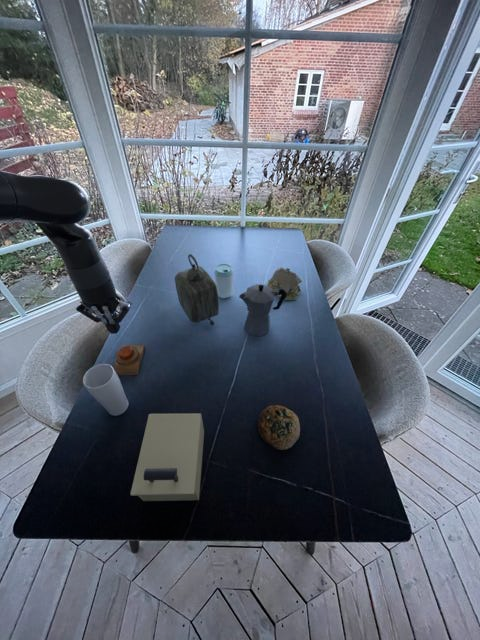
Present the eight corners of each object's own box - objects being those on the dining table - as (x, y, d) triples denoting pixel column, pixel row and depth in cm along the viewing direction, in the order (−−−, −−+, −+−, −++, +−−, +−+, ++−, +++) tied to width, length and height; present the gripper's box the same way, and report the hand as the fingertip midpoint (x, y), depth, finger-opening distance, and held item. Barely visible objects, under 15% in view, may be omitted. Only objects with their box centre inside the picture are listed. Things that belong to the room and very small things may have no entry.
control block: (137, 375, 77) (134, 368, 75) (113, 375, 77) (109, 368, 74) (145, 348, 84) (142, 341, 82) (123, 348, 84) (120, 341, 82)
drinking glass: (99, 416, 68) (75, 386, 57) (113, 393, 73) (92, 361, 62) (124, 421, 67) (104, 391, 57) (136, 397, 72) (119, 365, 61)
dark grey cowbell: (219, 326, 92) (216, 264, 74) (195, 335, 88) (186, 273, 71) (202, 302, 100) (195, 241, 83) (179, 310, 97) (167, 249, 79)
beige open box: (198, 500, 56) (194, 489, 50) (143, 501, 56) (132, 490, 49) (204, 430, 66) (201, 415, 60) (157, 431, 66) (149, 415, 60)
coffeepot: (241, 339, 88) (242, 298, 75) (235, 319, 94) (236, 278, 81) (285, 333, 90) (294, 292, 77) (277, 314, 96) (284, 273, 84)
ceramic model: (306, 290, 107) (311, 269, 100) (291, 304, 101) (296, 283, 94) (276, 276, 113) (279, 256, 106) (261, 289, 107) (263, 268, 100)
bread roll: (249, 416, 69) (253, 407, 65) (284, 403, 73) (290, 394, 70) (269, 459, 62) (274, 451, 59) (307, 442, 66) (314, 434, 63)
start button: (131, 359, 77) (130, 356, 76) (119, 359, 77) (117, 356, 76) (134, 350, 80) (133, 346, 78) (122, 350, 80) (121, 346, 78)
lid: (194, 494, 49) (191, 487, 45) (131, 495, 49) (122, 488, 45) (201, 414, 60) (199, 403, 56) (149, 415, 60) (144, 403, 56)
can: (235, 290, 106) (236, 265, 97) (228, 301, 101) (228, 275, 93) (219, 286, 107) (218, 260, 99) (212, 296, 103) (210, 270, 94)
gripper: (51, 287, 55) (84, 342, 67) (116, 288, 55) (137, 342, 68) (67, 267, 60) (95, 321, 72) (126, 267, 61) (143, 321, 73)
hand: (115, 331), depth 70 cm, fingers closed
